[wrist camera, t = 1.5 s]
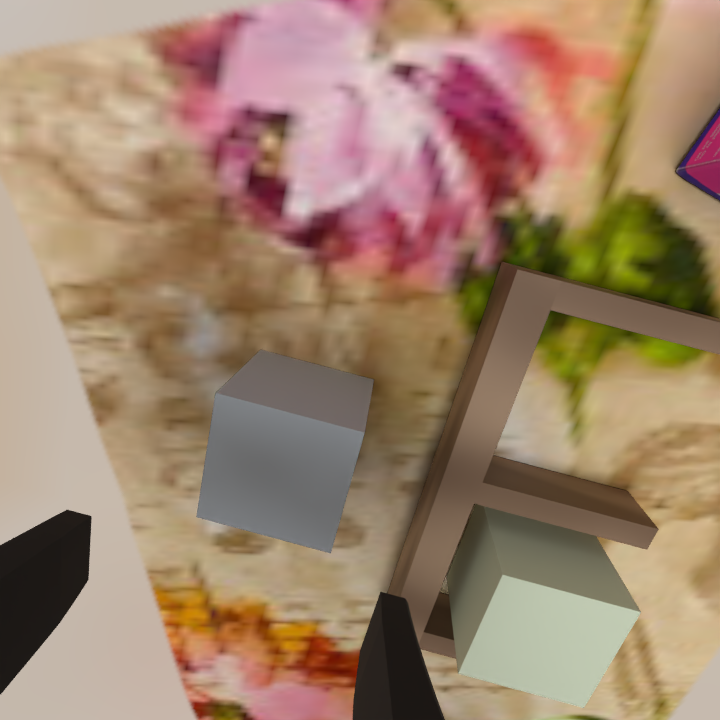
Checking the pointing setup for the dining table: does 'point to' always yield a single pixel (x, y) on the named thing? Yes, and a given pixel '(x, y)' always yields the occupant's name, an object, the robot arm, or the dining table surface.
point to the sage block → (536, 606)
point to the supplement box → (704, 160)
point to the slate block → (284, 449)
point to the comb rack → (484, 428)
